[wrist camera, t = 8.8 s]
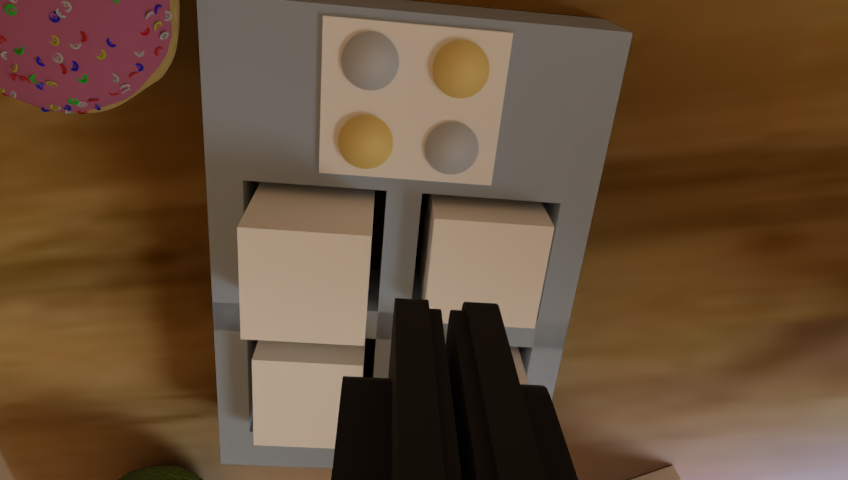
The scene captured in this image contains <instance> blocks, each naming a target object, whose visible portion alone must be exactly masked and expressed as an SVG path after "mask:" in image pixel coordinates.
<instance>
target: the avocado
mask: <svg viewBox="0 0 848 480" xmlns="http://www.w3.org/2000/svg"><path fill="white" fill-rule="evenodd" d="M118 480H203V479H202V478H201V477H199V476H198V475H197V474H195V473H193V472H190V471H188V470H186V469H184V468H181V467H179V466H149V467H146V468H142V469H138V470H135V471H131V472H129V473H127V474H125V475H124V476H123V477H121V478H120V479H118Z"/></svg>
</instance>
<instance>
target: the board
mask: <svg viewBox="0 0 848 480" xmlns="http://www.w3.org/2000/svg"><path fill="white" fill-rule="evenodd" d="M197 19H198V38H199V57H200V76H201V95H202V114H203V133H204V152H205V171H206V190H207V209H208V229H209V248H210V267H211V286H212V305H213V324H214V343H215V362H216V381H217V400H218V419H219V439H220V458H221V464H231V465H255V466H280V467H304V468H329V469H332V468H333V459H334V450H335V449H329V448H306V447H283V446H259V445H254V438H253V396H252V357H253V354H254V351H255V348H256V345H257V342H258V340H245V339H241V338H240V306H239V275H238V244H237V226H238V224H239V222H240V220H241V218H242V216H243V215H244V213H245V211H246V209H247V207H248V205H249V203H250V201H251V199H252V197H253V195H254V193H255V191H256V190H257V188H258V186H259V184H260V182H273V183H287V184H301V185H315V186H328V187H342V188H356V189H370V190H384V191H386V193H385V207H384V220H383V234H382V248H381V262H380V270H370V277H369V291H368V305H367V318H366V332H365V338H370V339H375V344H374V358H373V372H372V378H388V374H389V361H390V349H391V337H392V324H393V312H394V302H395V298H406V299H422V296H421V282H420V273H414V271H415V261H416V251H417V241H418V231H419V221H420V210H421V200H422V193H425V194H439V195H453V196H466V197H480V198H494V199H508V200H522V201H535V202H542V204H543V206H544V208H545V210H546V211H547V213H548V215H549V217H550V219H551V221H552V223H553V225H554V233H553V238H552V243H551V248H550V253H549V258H548V263H547V268H546V274H545V279H544V284H543V289H542V294H541V299H540V304H539V309H538V314H537V320H536V325H535V329H532V328H515V327H505V330H506V334H507V338H508V341H509V345H510V346H513V347H518V348H519V352H520V355H521V359H522V362H523V366H524V369H525V373H526V376H527V380H528V383H529V385H544V386H545V387H546V388H547V390H548V392H549V394H550V397H551V400H552V397H553V393H554V388H555V383H556V379H557V374H558V370H559V365H560V361H561V356H562V352H563V347H564V343H565V338H566V334H567V329H568V325H569V320H570V316H571V311H572V307H573V302H574V297H575V293H576V288H577V284H578V279H579V275H580V270H581V266H582V261H583V257H584V252H585V248H586V243H587V239H588V234H589V230H590V225H591V220H592V216H593V211H594V207H595V202H596V198H597V193H598V189H599V184H600V180H601V175H602V171H603V166H604V162H605V157H606V153H607V148H608V143H609V139H610V134H611V130H612V125H613V121H614V116H615V112H616V107H617V103H618V98H619V94H620V89H621V85H622V80H623V76H624V71H625V66H626V62H627V57H628V53H629V48H630V44H631V39H632V35H633V32H631V31H628V30H626V29H624V28H622V27H620V26H618V25H616V24H614V23H611V22H609V21H607V20H605V19H600V18H589V17H579V16H568V15H557V14H547V13H536V12H525V11H515V10H504V9H494V8H483V7H472V6H462V5H451V4H440V3H430V2H419V1H409V0H197ZM443 328H444V336H445V343H446V337H447V329H448V324H446V323H443Z"/></svg>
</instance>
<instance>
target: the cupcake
mask: <svg viewBox="0 0 848 480" xmlns="http://www.w3.org/2000/svg"><path fill="white" fill-rule="evenodd" d="M179 19H180V2H179V0H0V92H2V95H5V96H11V97H13V98H16V99H18V100H21V101H23V102H26V103H28V104H31V105H33V106H36V107H39V108H41V110H42V111H44V112H47V111H50V110H51V111H58V112H65V113H66V114H71V113H73V112H75V113H79V114H85V113H97V112H103V111H107V110H110V109H113V108H115V107H117V106H119V105H121V104H123V103H125V102H126V101H128V100H130V99H131V98H133V97H134V96H136V95H137V94H139V93H140V92H142V91H143V90H144V89H146V88H147V87H149V86H150V85H152V84H153V83H155V82H157V81H158V80H159V79H161V78H162V77H163V76H164V74H165V73H166V71H167V70H168V68H169V67H170V65H171V63H172V61H173V59H174V56H175V53H176V49H177V43H178V35H179ZM3 93H4V94H3ZM44 109H45V110H44Z"/></svg>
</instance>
